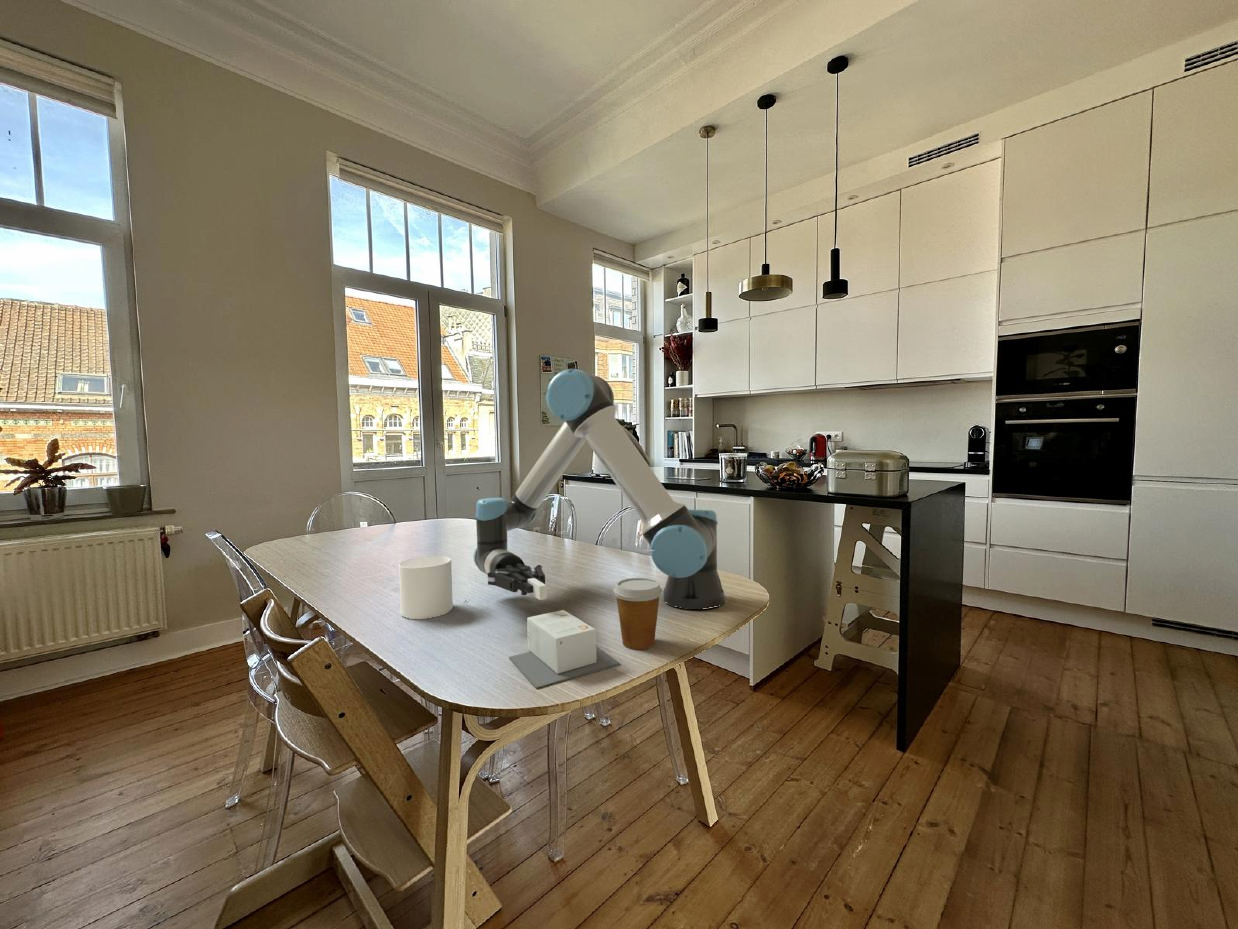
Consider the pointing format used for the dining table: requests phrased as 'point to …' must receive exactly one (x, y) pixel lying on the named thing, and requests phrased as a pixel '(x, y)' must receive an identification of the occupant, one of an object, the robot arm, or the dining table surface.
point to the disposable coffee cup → (638, 611)
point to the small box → (561, 641)
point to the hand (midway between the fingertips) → (543, 592)
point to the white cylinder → (425, 587)
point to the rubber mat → (546, 676)
